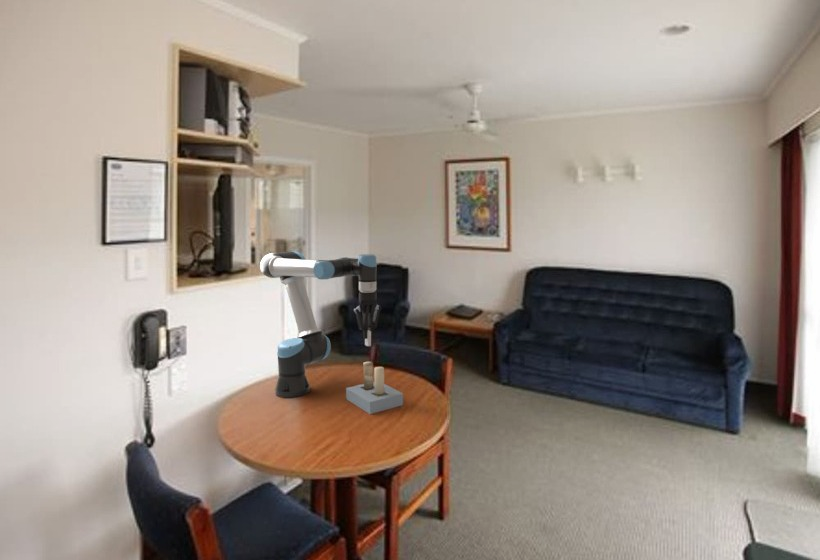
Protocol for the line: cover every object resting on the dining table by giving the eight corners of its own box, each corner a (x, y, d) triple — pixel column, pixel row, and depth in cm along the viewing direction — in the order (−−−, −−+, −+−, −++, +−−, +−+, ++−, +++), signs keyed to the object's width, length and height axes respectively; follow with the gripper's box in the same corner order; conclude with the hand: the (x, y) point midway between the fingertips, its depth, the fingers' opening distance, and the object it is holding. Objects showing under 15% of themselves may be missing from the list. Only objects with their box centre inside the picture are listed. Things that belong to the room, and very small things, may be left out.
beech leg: (362, 398, 208) (361, 362, 206) (370, 396, 211) (369, 361, 209) (367, 401, 205) (366, 365, 203) (375, 399, 207) (374, 363, 205)
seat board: (346, 399, 208) (345, 363, 206) (377, 391, 217) (377, 356, 215) (370, 414, 192) (369, 375, 190) (403, 405, 201) (402, 367, 199)
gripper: (358, 293, 197) (358, 349, 200) (385, 291, 204) (385, 345, 207) (349, 291, 203) (350, 345, 206) (376, 288, 210) (376, 341, 213)
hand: (367, 345), depth 207 cm, fingers closed
